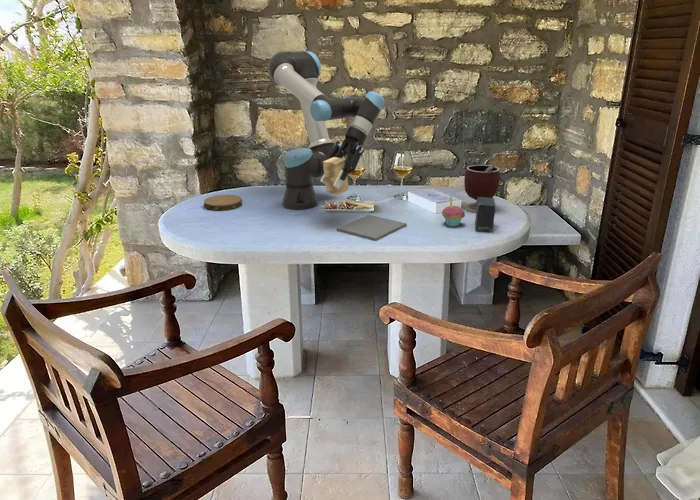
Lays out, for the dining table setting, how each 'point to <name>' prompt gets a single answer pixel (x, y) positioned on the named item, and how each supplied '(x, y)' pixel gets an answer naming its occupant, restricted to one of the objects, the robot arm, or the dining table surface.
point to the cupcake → (453, 214)
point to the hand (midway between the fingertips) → (329, 184)
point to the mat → (371, 227)
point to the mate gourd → (480, 183)
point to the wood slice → (223, 202)
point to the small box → (485, 214)
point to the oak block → (334, 175)
